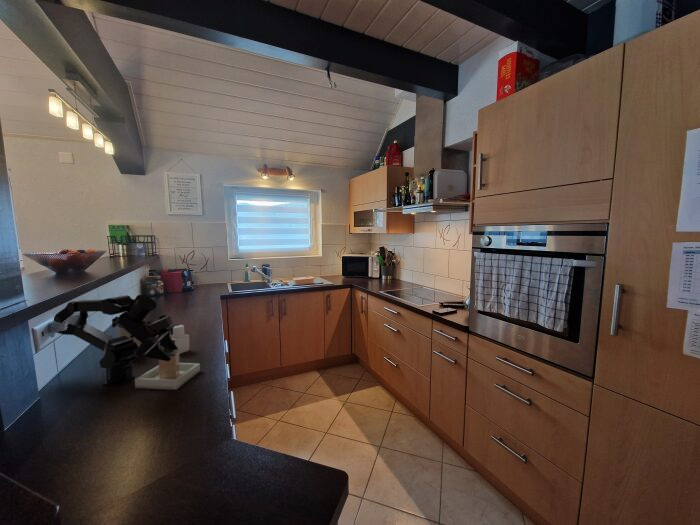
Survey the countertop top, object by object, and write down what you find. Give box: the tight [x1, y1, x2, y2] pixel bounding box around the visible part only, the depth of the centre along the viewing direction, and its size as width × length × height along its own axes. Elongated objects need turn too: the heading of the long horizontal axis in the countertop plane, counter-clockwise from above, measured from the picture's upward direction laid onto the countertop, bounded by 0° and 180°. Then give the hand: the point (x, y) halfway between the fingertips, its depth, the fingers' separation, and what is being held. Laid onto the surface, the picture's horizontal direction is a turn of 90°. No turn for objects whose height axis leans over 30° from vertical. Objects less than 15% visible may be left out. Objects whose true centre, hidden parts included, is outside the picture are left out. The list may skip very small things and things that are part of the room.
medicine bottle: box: [163, 323, 190, 355], centre depth 128 cm, size 7×7×12 cm
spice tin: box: [158, 349, 180, 379], centre depth 102 cm, size 5×5×9 cm
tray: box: [134, 362, 201, 391], centre depth 102 cm, size 14×14×3 cm
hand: (173, 355), depth 102 cm, fingers open, 9 cm apart
